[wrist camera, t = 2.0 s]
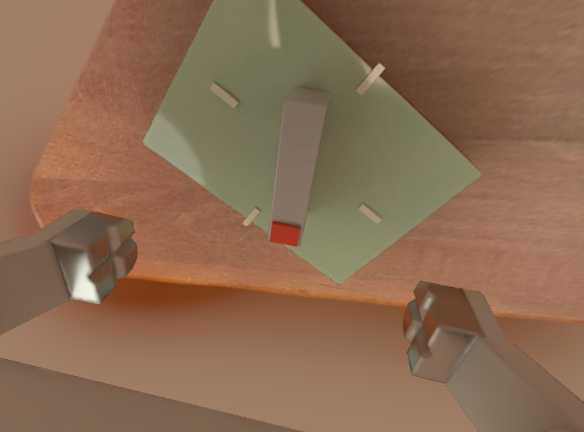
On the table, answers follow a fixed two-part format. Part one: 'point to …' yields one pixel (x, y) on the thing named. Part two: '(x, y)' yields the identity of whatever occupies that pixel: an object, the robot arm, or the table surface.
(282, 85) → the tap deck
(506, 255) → the table surface
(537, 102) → the table surface
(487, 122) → the table surface
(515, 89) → the table surface
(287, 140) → the red-button grey box
